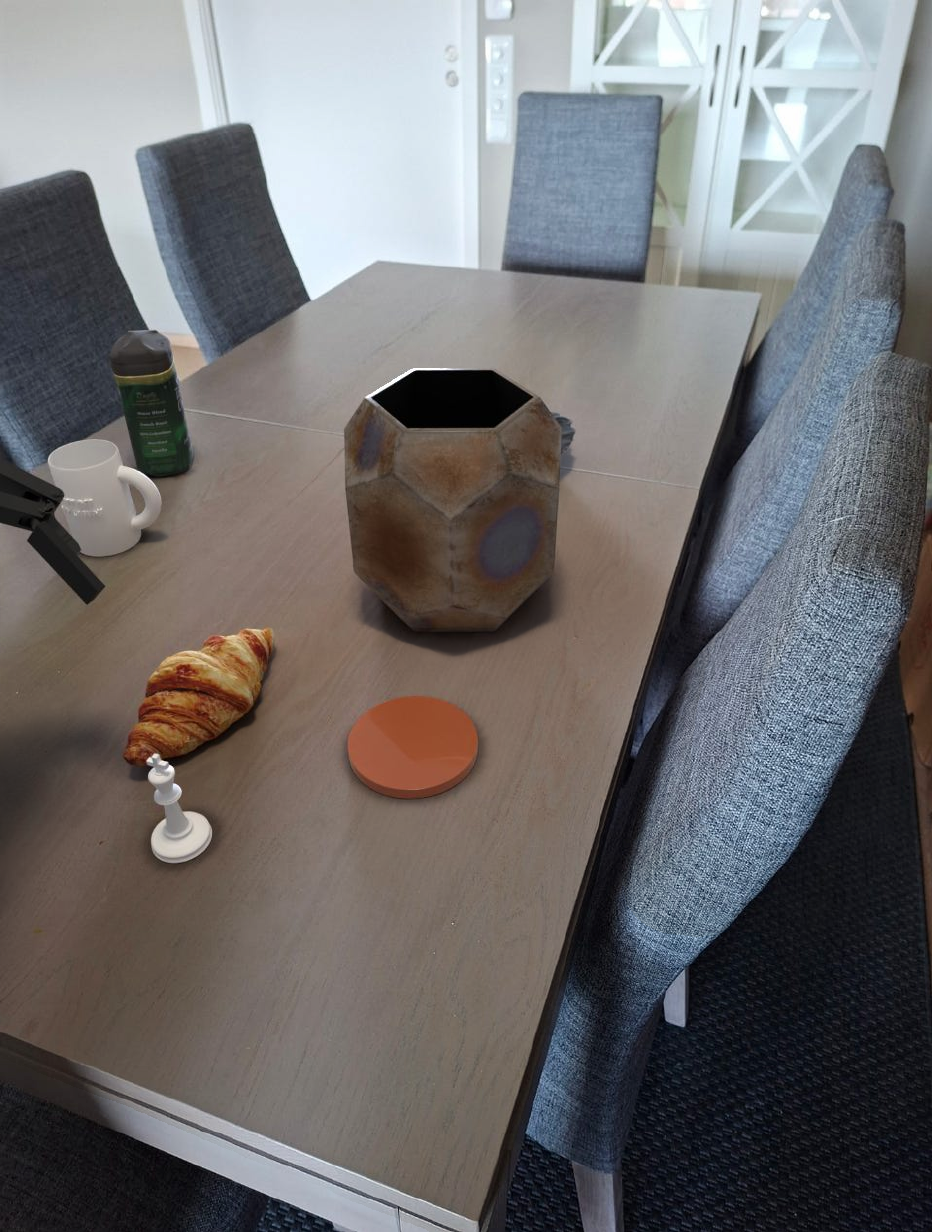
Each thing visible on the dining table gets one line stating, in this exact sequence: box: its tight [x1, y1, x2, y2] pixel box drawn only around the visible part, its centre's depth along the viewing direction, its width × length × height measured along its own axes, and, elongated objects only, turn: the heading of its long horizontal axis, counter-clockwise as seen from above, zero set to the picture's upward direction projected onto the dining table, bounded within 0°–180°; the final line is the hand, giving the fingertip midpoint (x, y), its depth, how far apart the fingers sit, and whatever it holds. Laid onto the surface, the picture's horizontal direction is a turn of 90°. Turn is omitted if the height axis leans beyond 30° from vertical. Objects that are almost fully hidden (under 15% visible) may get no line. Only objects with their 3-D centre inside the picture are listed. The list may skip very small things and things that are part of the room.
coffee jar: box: [109, 329, 194, 477], centre depth 122 cm, size 10×8×19 cm
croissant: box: [122, 627, 276, 767], centre depth 84 cm, size 21×10×8 cm, turn 156°
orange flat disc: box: [347, 695, 479, 800], centre depth 81 cm, size 12×12×1 cm
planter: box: [343, 367, 562, 633], centre depth 94 cm, size 22×24×24 cm
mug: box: [47, 438, 162, 558], centre depth 107 cm, size 8×12×12 cm
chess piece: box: [146, 753, 213, 864], centre depth 70 cm, size 5×5×10 cm
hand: (24, 646), depth 62 cm, fingers open, 13 cm apart
